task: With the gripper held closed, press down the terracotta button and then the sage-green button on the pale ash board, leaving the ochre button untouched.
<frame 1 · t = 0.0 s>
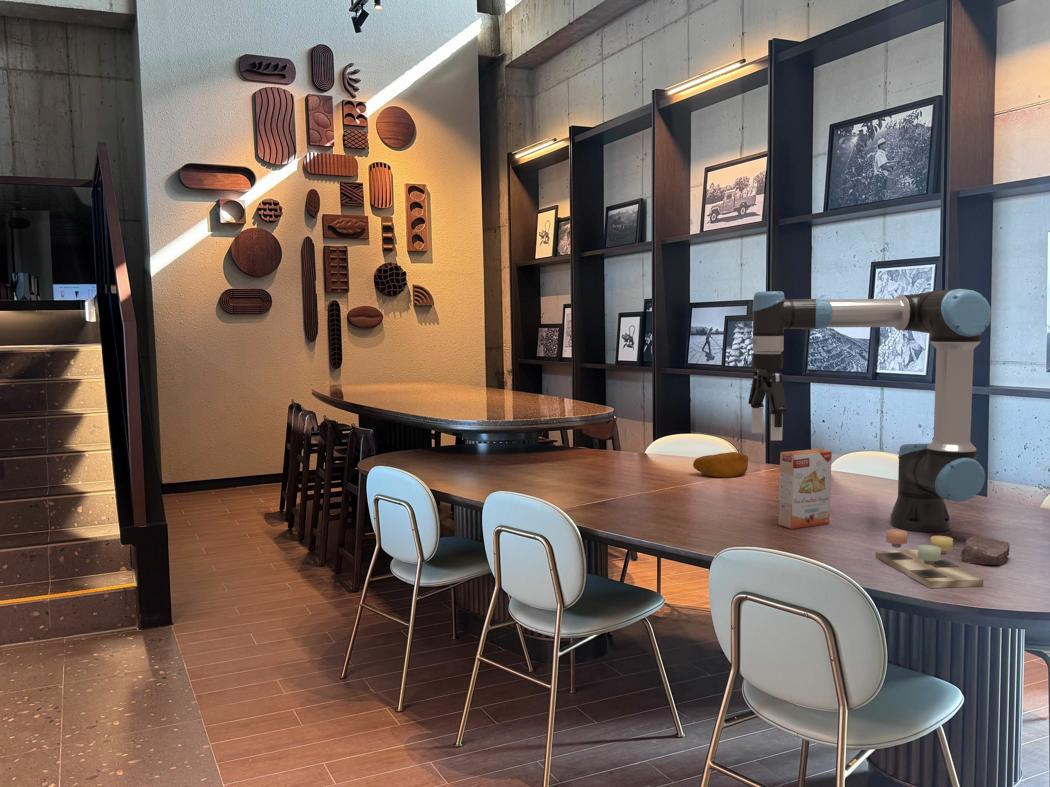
hand: (766, 436, 219), 28 cm above the table, fingers open, 13 cm apart
terracotta button: (896, 539, 204), point 6 cm above the table, slide at 0.0 cm
sage button: (929, 555, 190), point 6 cm above the table, slide at 0.0 cm
stone: (985, 561, 206), on the table
cracker box: (804, 525, 241), on the table
board: (926, 570, 198), on the table
bread: (720, 475, 317), on the table
ochre button: (941, 546, 197), point 6 cm above the table, slide at 0.0 cm
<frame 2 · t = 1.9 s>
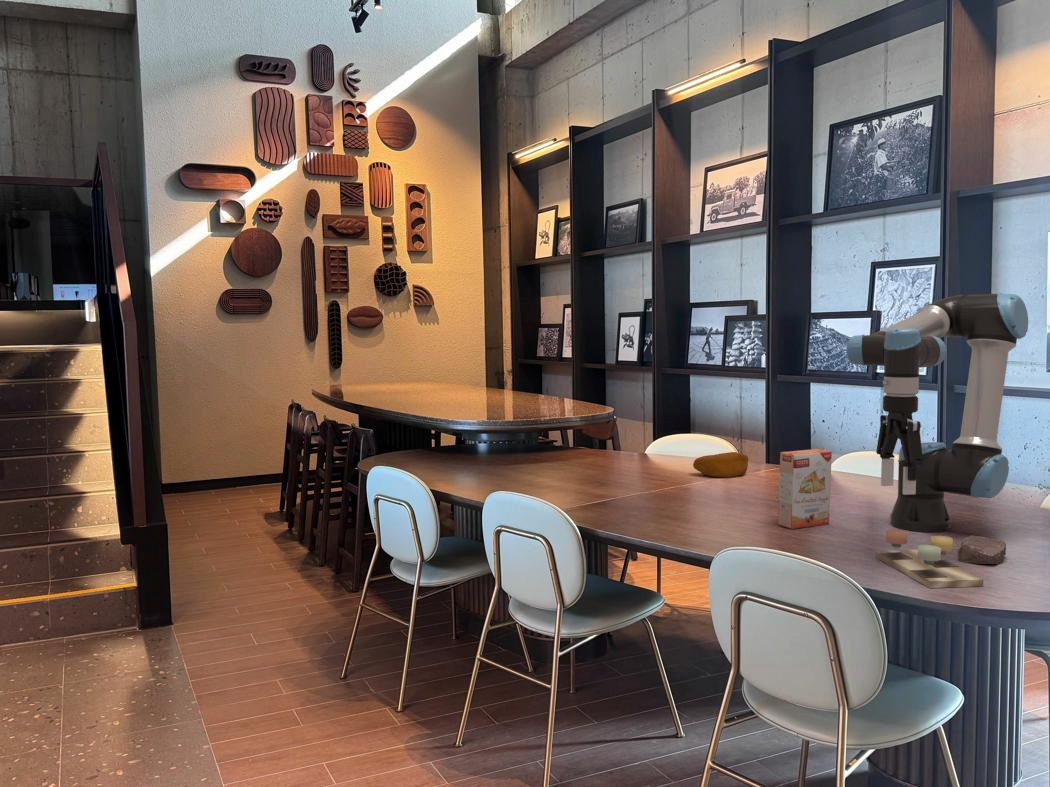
hand: (897, 489, 203), 18 cm above the table, fingers open, 9 cm apart
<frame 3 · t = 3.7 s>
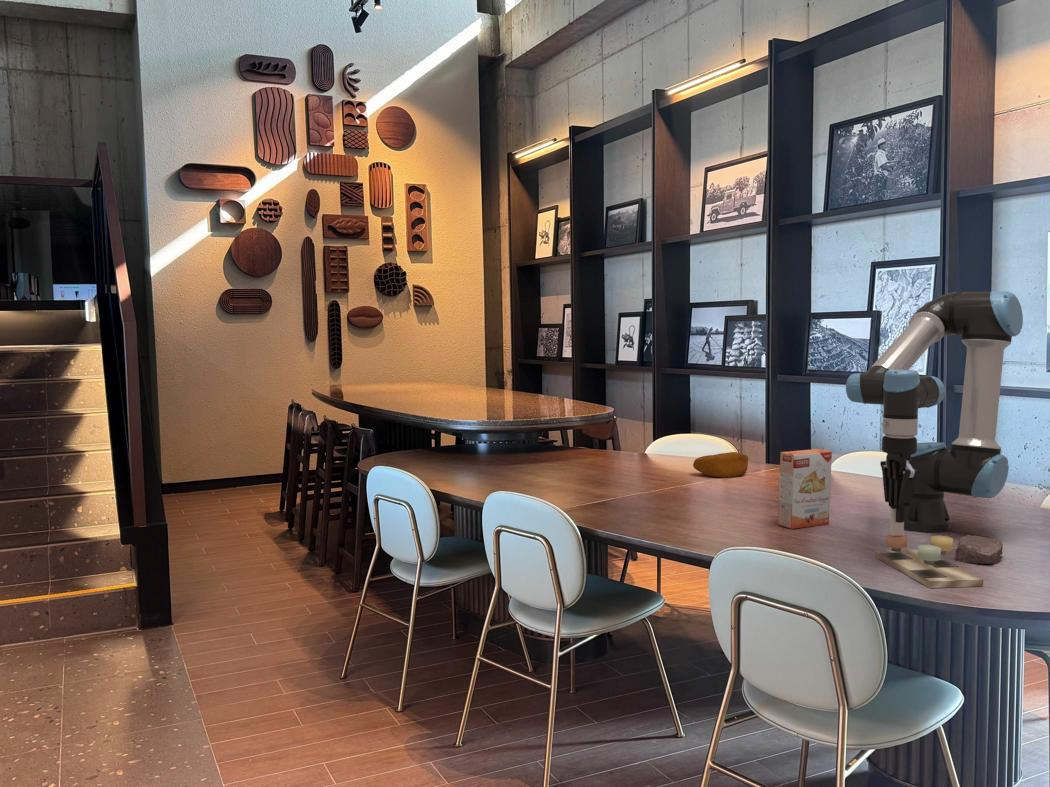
hand: (896, 534, 204), 7 cm above the table, fingers closed
terracotta button: (896, 543, 204), point 5 cm above the table, slide at 1.0 cm, touching gripper
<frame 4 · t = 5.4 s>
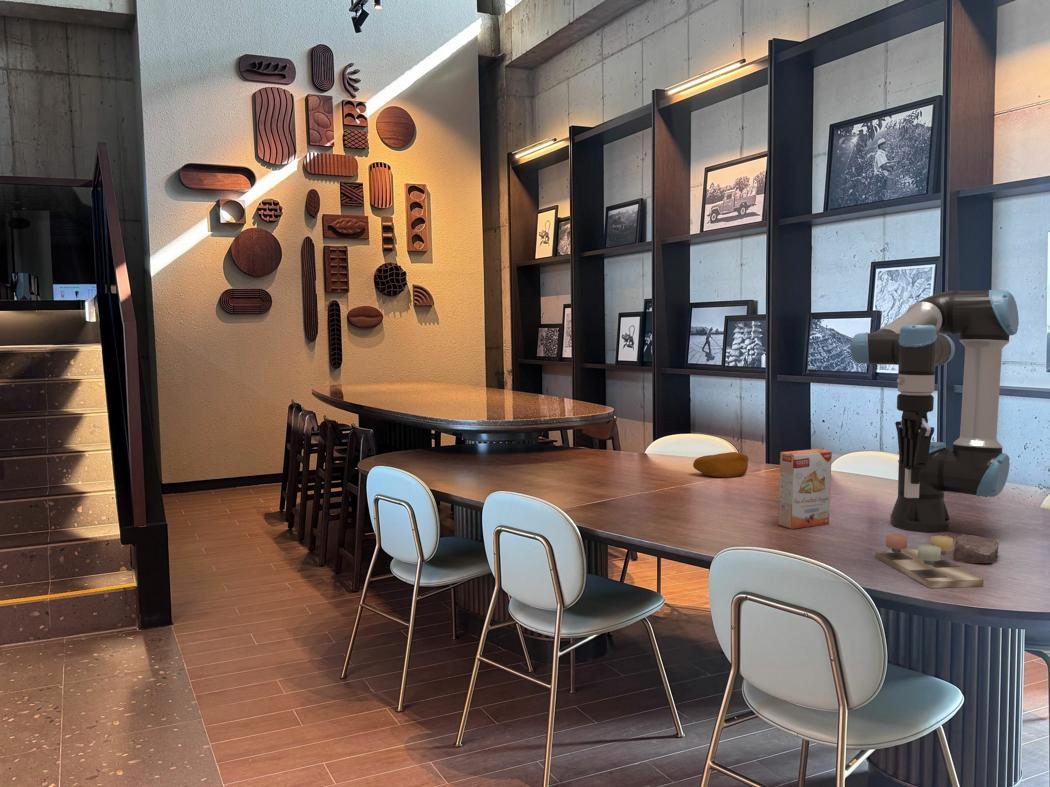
hand: (911, 497, 195), 17 cm above the table, fingers closed
terracotta button: (896, 544, 204), point 5 cm above the table, slide at 1.2 cm
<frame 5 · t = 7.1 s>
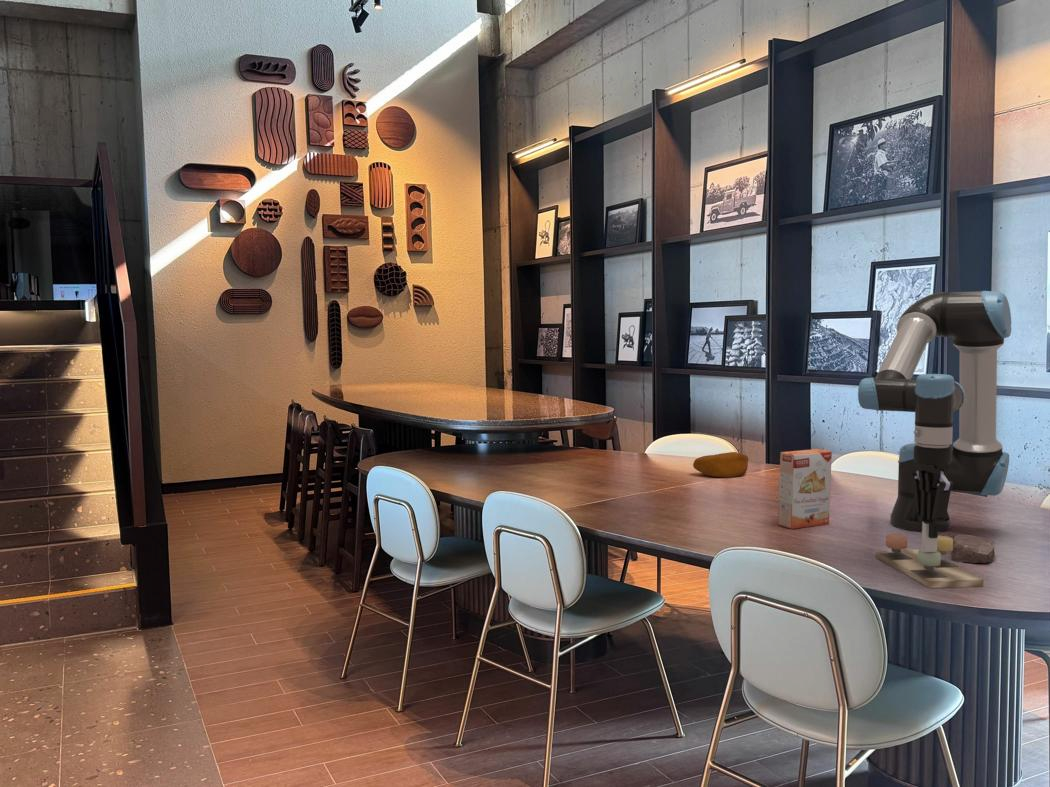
hand: (929, 551, 190), 7 cm above the table, fingers closed
sage button: (929, 560, 190), point 5 cm above the table, slide at 1.1 cm, touching gripper
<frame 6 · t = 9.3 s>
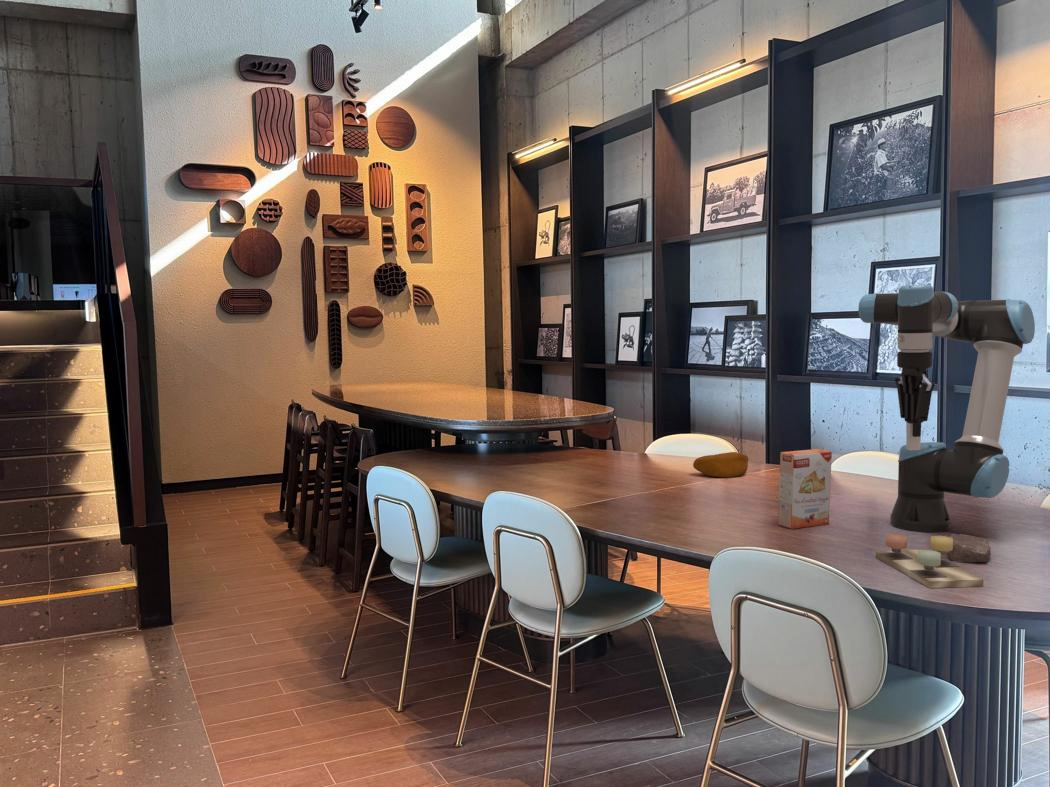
hand: (913, 449, 205), 27 cm above the table, fingers closed
sage button: (929, 560, 190), point 5 cm above the table, slide at 1.2 cm
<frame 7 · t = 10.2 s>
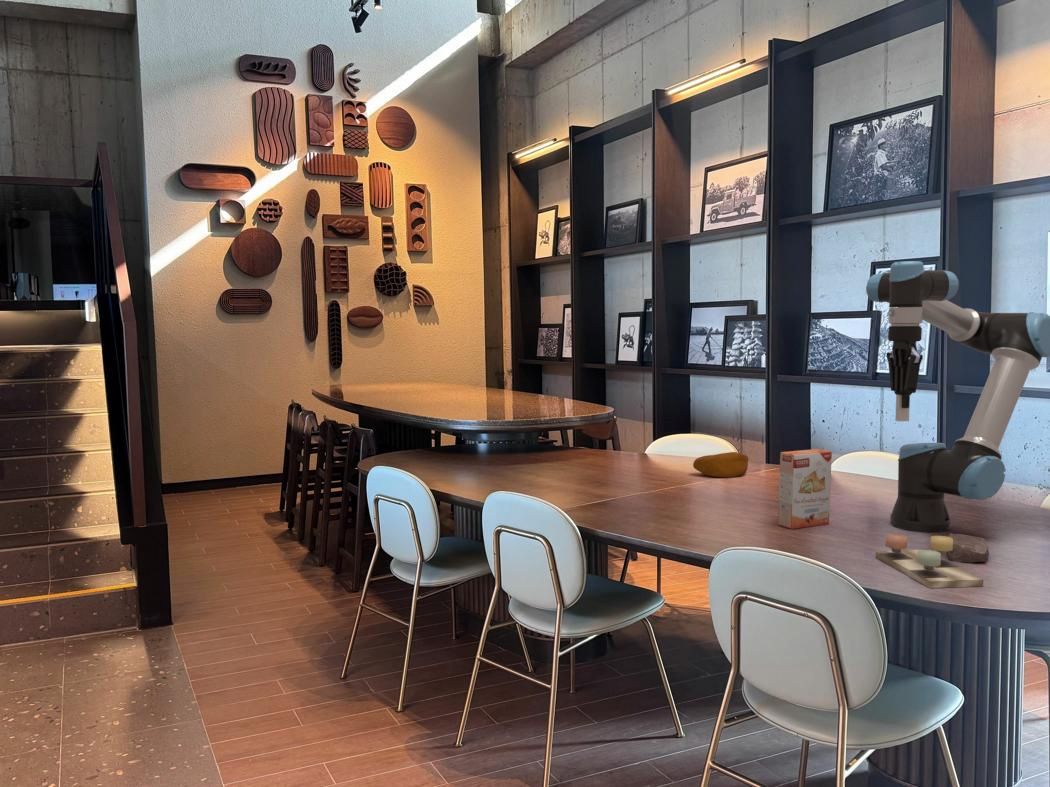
hand: (902, 420, 213), 32 cm above the table, fingers closed
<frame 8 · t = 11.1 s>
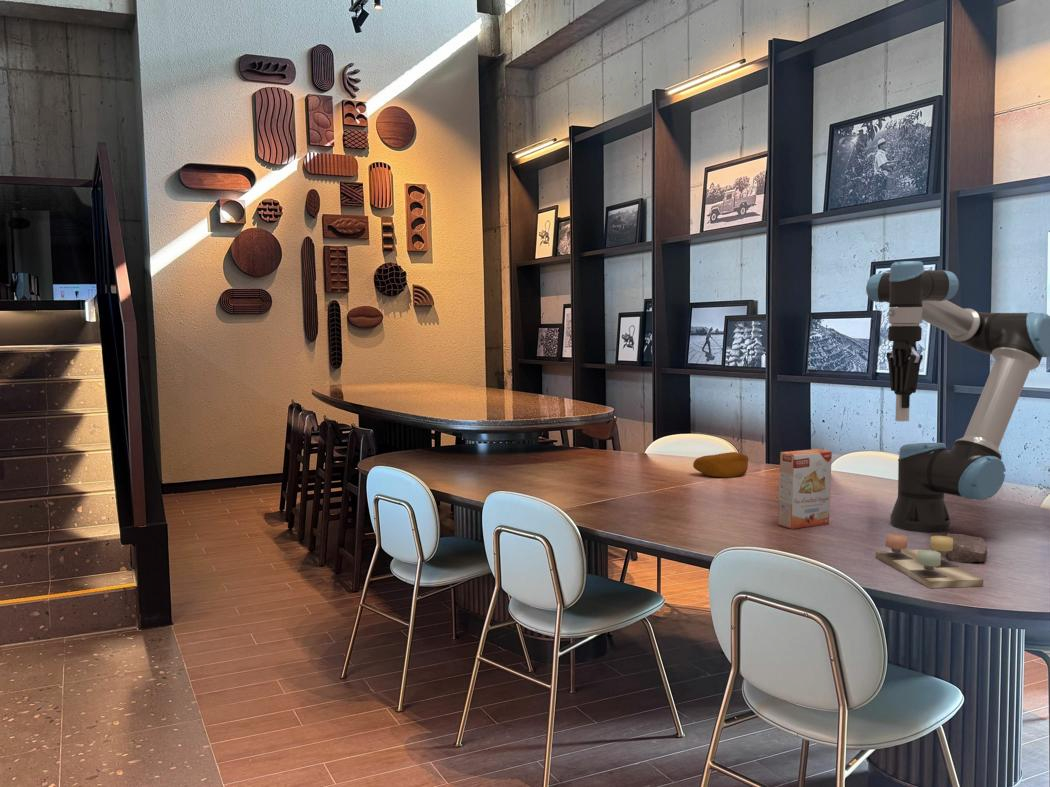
hand: (902, 420, 213), 32 cm above the table, fingers closed
at the end: terracotta button slide at 1.2 cm; sage button slide at 1.2 cm; ochre button slide at 0.0 cm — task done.
